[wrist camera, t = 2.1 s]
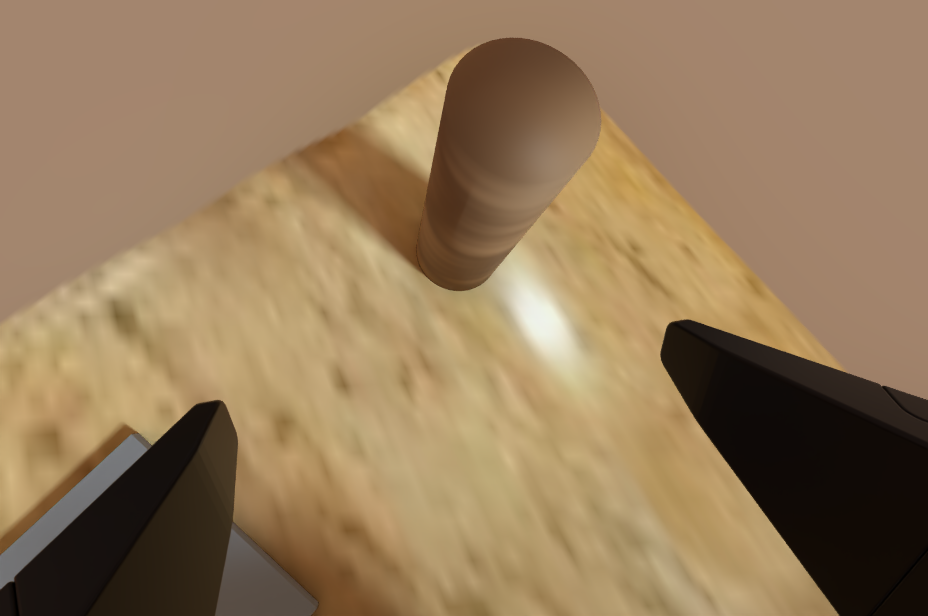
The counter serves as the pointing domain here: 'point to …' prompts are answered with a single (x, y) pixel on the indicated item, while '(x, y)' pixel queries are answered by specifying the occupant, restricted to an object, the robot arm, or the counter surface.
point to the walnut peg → (502, 155)
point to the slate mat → (246, 567)
